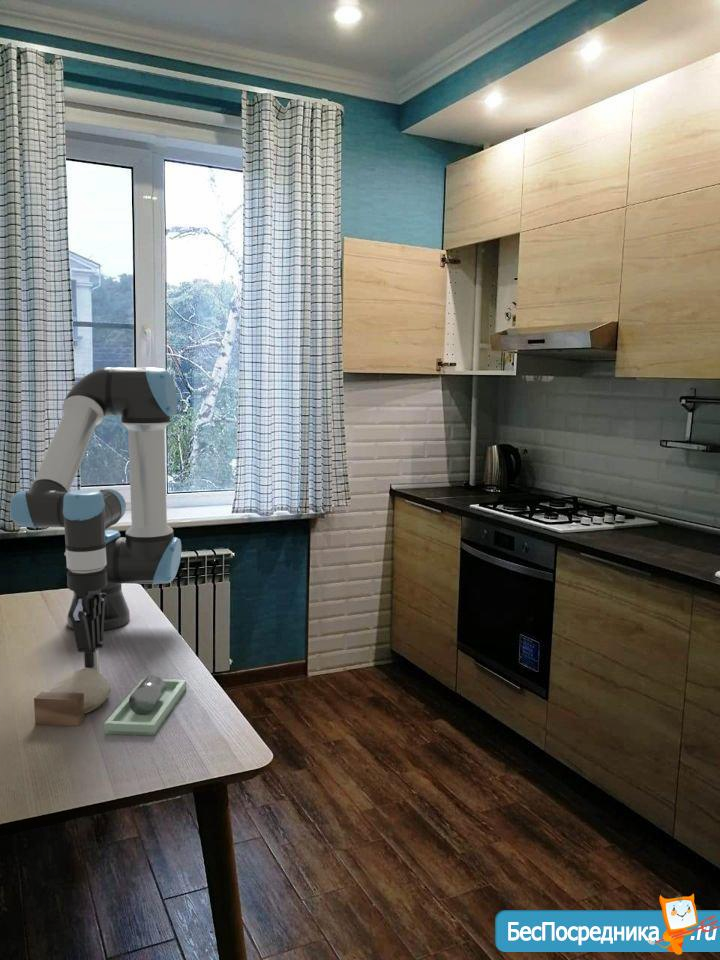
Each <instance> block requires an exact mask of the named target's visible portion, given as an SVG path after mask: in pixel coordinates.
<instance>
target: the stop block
mask: <svg viewBox="0 0 720 960" xmlns="http://www.w3.org/2000/svg"><path fill="white" fill-rule="evenodd" d="M33 705H34V706H33V707H34V719H35V720H34V722H35V723H34V724H35V725H37V726H38V725H39V726H40V725H41V726H62V727H63V726H64V727H65V726H66V727H79V725H81V724H82V722H83V721H84V720H85V719H86V717H85V715H86V713H85V712H84V693H63V692H50V691H41V692H39V694H38V695H36V696H35V697H34V698H33Z"/></svg>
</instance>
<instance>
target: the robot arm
mask: <svg viewBox="0 0 720 960" xmlns="http://www.w3.org/2000/svg"><path fill="white" fill-rule="evenodd" d="M61 406H62V407H61V408H62V409H61V410H62V412H63V415H62V417H61V419H60V422H59V424H58V426H57V427H56V430H55V433H54V435H53V438H52V439H51V442H50V444H49V446H48V449H47V451H46V452H45V456H44V457H43V460H42V462H41V463H40V467H39V469H38V471H37V474H36V475H35V478H34V480H33V482H32V485H31V486H30V489H29V490H27V489H26V490H21V491H16V493H14V494H13V496H12V497H11V500H10V505H9V515H10V518H11V520H12V522H13V523H14V524H15V525H16V526H18V527H22V528H23V527H24V528H25V527H26V528H34V529H38V528H64V539H65V540H64V541H65V542H64V543H65V545H64V546H65V551H64V553H63V554H64V556H65V558H66V559H65V560H66V569H67V572H66V580H67V581H66V583H67V584H66V585H67V588H68V590H70V591H72V592H73V595H72V599H71V602H70V606H69V610H68V613H67V616H66V619H67V622H66V623H67V627H68V628H70V629H72V630H73V634H74V638H75V643H76V644H75V645H76V651H77V652H78V653H82V654H83V669H85V668H87V669H94V670H96V671H98V672H99V673H101V670H100V669H101V667H100V651H99V649H103V647H104V646H105V645H104V643H101V642H103V641H104V632H105V631H109V630H113V629H116V628H120V627H122V626H123V627H124V626H125V625H126V624H127V623H129V622H130V620H131V618H130V617H131V616H130V608H129V607H128V603H127V601H126V598H125V596H124V592H123V590H122V584H136V585H137V584H140V585H141V584H142V585H143V584H144V585H145V584H147V585H148V584H151V585H157V584H158V585H159V584H162V585H163V584H169V583H171V582H173V580H174V579H175V577H177V576H176V575H177V573H178V570H179V567H180V564H181V557H182V541H181V539H180V538H178V537H176V536H175V537H174V529H173V528H172V527H171V526H170V525H169V524H168V523H167V522H168V521H167V520H168V517H167V516H168V514H167V489H166V488H167V485H166V484H167V482H166V476H167V475H166V446H165V442H166V441H165V429H166V428H167V427H168V426H169V425H170V424H171V417H174V416H175V415H176V414H177V412H178V393H177V388H176V384H175V382H174V378H173V376H172V375H171V373H170V372H169V371H168V370H167V369H166V368H163V367H161V368H160V367H151V366H147V367H114V366H111V367H110V366H109V367H108V366H105V367H101V368H99V369H96V370H93V371H91V372H90V373H88V374H86V375H85V376H83V378H81V379H80V380H79V381H77V382H76V384H75V385H74V386H73V387H72V388H71V389H70V391H69V392H68V393H67V395H66V397H65V399H64V401H63V404H62V405H61ZM107 416H120V417H121V419H120V420H121V425H122V426H123V427H125V428H126V429H127V430H128V431H127V432H128V457H129V459H128V460H129V482H130V483H129V486H130V487H129V488H130V512H131V513H130V515H131V516H130V519H131V525H130V527H129V528H127V530H125V537H124V536H123V537H121V533H120V531H119V530H114V529H108V528H110V527H111V526H114V525H116V524H117V523H118V522H119V521H120V520H121V519H122V518H123V516H125V513H126V510H127V509H126V508H127V505H126V504H127V503H126V499H125V498H124V495H122V494H121V493H120V492H119V491H117V490H115V489H111V488H105V489H100V490H99V489H91V488H89V489H85V488H84V489H75V490H71V487H72V485H73V484H74V480H75V478H76V476H77V472H78V470H79V468H80V466H81V463H82V460H83V458H84V455H85V453H86V451H87V448H88V446H89V443H90V440H91V438H92V435H93V434H94V431H95V428H96V426H98V425H100V424H101V423H102V421H103V419H104V417H107ZM70 490H71V491H70ZM107 529H108V530H107Z"/></svg>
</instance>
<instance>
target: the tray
mask: <svg viewBox="0 0 720 960" xmlns="http://www.w3.org/2000/svg"><path fill="white" fill-rule="evenodd" d="M145 679H146V678H142V679H141V680H140V681H139V682H138V683H137V684H136V686H135V687H134V688H133V689H132V690H131V691H130V693H129V694H128V695H127V696H126V697H125V698H124V700H123V701H122V702H121V703H120V704H119V706H118V707H117V708H116V709H115V710H114V711H113V712H112V714H111V715H110V716H109V717H108V718H107V720H105V722H104V723H103V724H104V725H103V726H104V734H105V735H127V736H129V735H130V736H149V737H150V736H152V737H153V736H155V735H156V733H158V731H159V729H160V728H161V726H162V725H163V724H164V722H165V721H166V719H167V718H168V716H169V715H170V713H171V712H172V710H173V709H175V708H174V707H176V705H177V704H178V702H179V701H180V699H181V697H182V696H183V695H184V694H185V692H186V690H187V679H172V678H171V679H166V678H161V679H162V680H163V681H164V683H165V685H166V691H165V694H164V695H163V696H162V698H161V699H160V700H159V702H158V703H157V704H156V706H155V707H154V708H153V710H152V711H151V712H150V713H149V714H146V715H139V714H136V713H135V712H133V711H132V710H131V708H130V706H129V699H130V696H131V695H132V694H133V693H134V691H135V690H136V689H137V688H138V687H139V685H140V684H141V683H142V682H143V681H144V680H145Z"/></svg>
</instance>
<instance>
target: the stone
mask: <svg viewBox="0 0 720 960" xmlns="http://www.w3.org/2000/svg"><path fill="white" fill-rule="evenodd" d="M111 689H112V688H111V685H110V682H109V680H108V678H107V677H106V676H104V675H103V674H102V673H101V672H100V673H99V672H98V671H96V670H94V669H87V668H85V669H84V668H82V669H79V670H76V671H74V672H72V673H71V674H68V675H66V676H64V677H63V678H62V679H60V680H58V682H56V683H55V684H54V685H53V686H52V687H51V689H50V691H49V692H63V693H84V712H85V714H88V713H90V712H92V711H95V710H97V708H98V707H101V706H102V705H103V704H104V703H105V701H107V699H108V698H109V696H110V695H111V694H110V693H111V691H112V690H111Z"/></svg>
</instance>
